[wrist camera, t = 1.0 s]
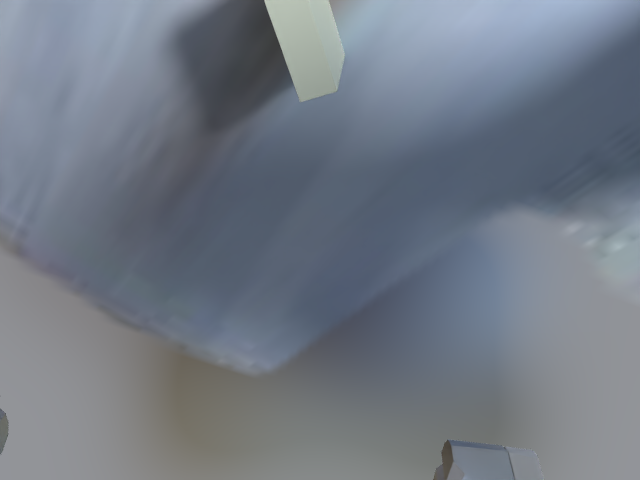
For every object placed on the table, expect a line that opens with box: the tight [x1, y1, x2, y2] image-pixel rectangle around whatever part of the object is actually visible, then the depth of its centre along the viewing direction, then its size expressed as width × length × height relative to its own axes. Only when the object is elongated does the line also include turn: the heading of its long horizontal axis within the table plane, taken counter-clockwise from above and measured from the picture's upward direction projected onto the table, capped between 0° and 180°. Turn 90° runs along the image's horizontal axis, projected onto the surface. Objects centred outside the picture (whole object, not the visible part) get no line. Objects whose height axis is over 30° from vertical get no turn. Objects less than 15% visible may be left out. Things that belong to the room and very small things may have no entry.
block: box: [264, 0, 345, 102], centre depth 30 cm, size 2×6×7 cm, turn 18°
